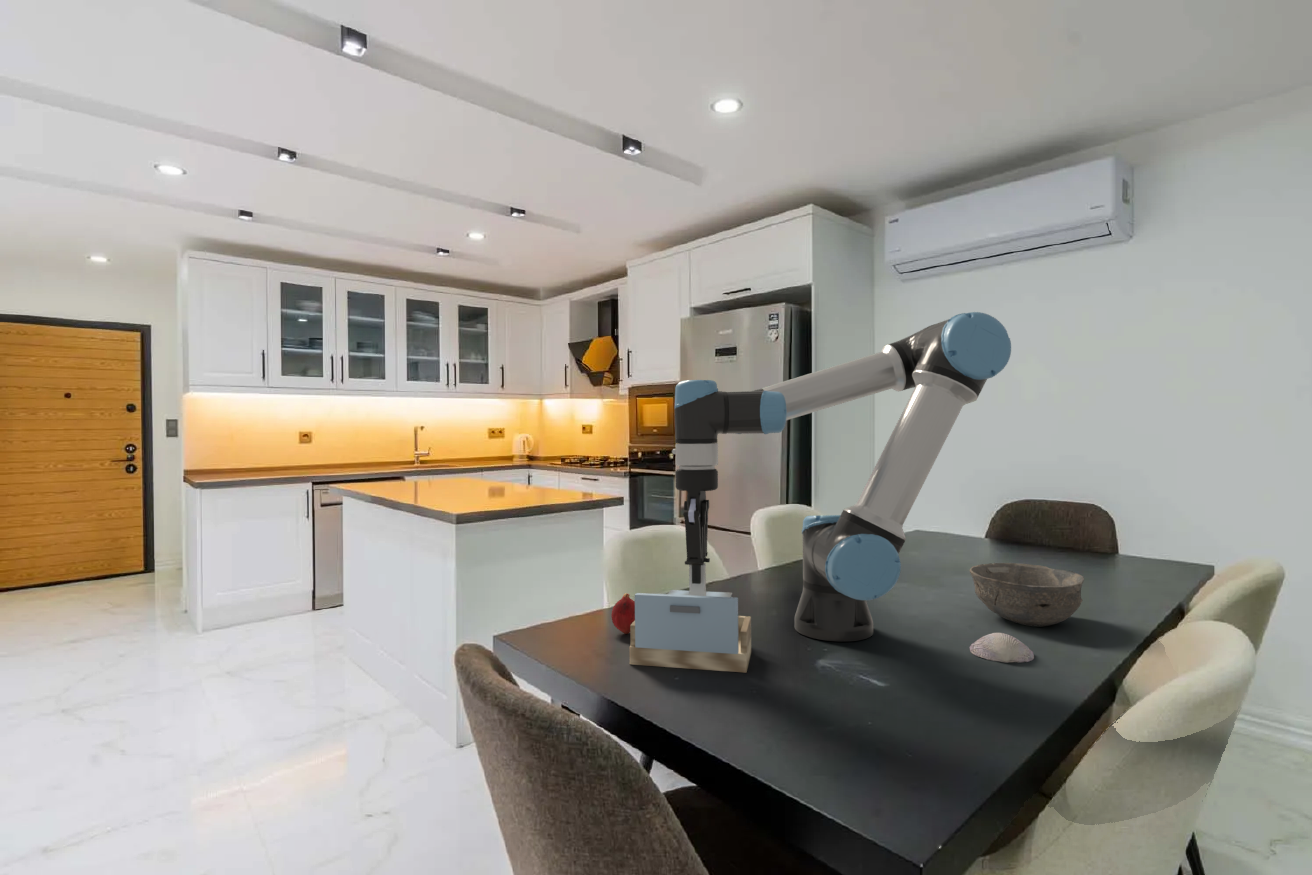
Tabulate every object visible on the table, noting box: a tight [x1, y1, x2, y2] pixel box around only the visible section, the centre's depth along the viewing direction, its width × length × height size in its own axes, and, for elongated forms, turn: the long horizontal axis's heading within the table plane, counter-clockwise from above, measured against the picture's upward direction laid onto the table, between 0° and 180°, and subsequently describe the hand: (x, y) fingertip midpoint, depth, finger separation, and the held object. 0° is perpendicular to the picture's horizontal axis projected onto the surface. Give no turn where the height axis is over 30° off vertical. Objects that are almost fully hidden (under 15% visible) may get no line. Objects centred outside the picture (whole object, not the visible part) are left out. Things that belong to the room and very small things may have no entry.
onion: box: [611, 592, 635, 635], centre depth 128 cm, size 6×6×8 cm
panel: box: [634, 592, 739, 654], centre depth 109 cm, size 17×2×9 cm, turn 77°
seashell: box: [969, 632, 1035, 664], centre depth 114 cm, size 10×6×10 cm
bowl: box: [969, 562, 1085, 627], centre depth 134 cm, size 21×21×10 cm
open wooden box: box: [628, 589, 752, 673], centre depth 117 cm, size 20×17×9 cm
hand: (697, 600), depth 115 cm, fingers closed
